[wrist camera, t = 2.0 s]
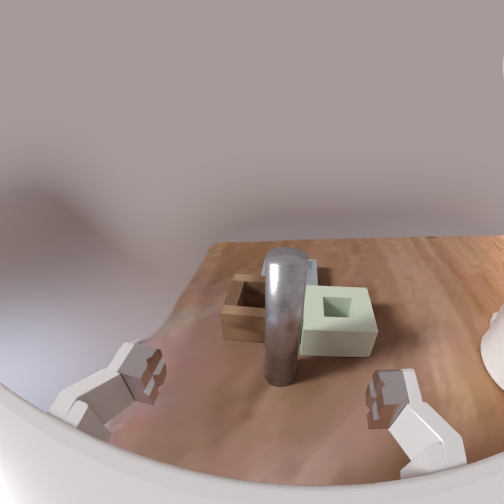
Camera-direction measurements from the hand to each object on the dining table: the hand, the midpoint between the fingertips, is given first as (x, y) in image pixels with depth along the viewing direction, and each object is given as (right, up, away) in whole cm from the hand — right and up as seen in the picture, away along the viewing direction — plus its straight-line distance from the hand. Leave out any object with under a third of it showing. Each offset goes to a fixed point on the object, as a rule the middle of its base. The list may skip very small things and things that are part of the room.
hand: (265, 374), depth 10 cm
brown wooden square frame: (+1, -4, +26) cm, 26 cm away
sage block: (+9, -5, +23) cm, 26 cm away
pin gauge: (+2, -8, +18) cm, 20 cm away
